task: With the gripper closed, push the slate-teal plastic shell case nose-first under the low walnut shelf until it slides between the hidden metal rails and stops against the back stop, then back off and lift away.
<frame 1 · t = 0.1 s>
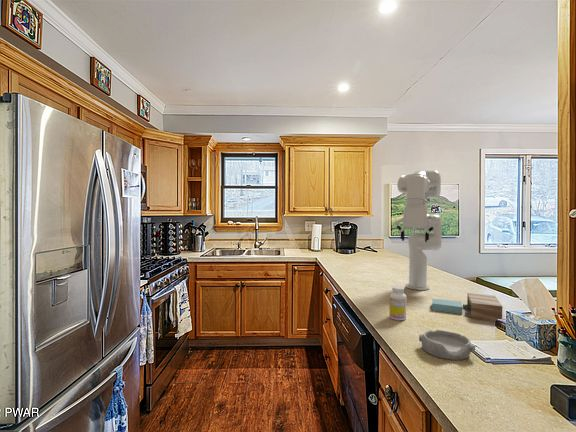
hand: (414, 241, 146), 31 cm above the countertop, tool pointing down, fingers open, 9 cm apart
supplement bottle: (397, 318, 135), on the countertop
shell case: (446, 309, 148), on the countertop
dish: (444, 352, 104), on the countertop
shelf dock: (481, 313, 142), on the countertop
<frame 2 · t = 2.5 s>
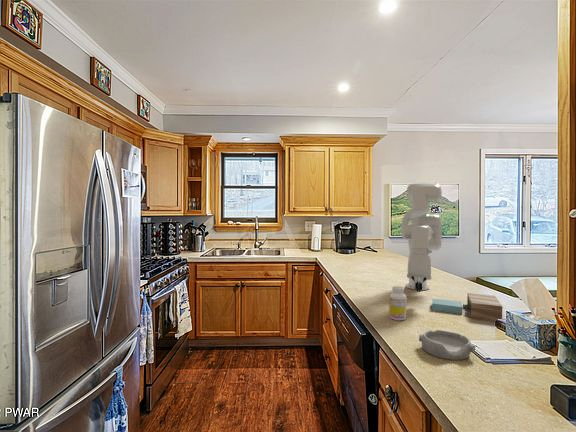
hand: (418, 290, 152), 7 cm above the countertop, tool pointing down, fingers closed
nothing on the countertop moved.
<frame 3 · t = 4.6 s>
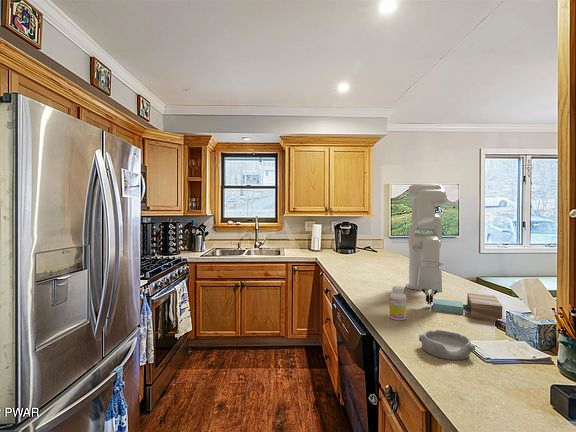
hand: (429, 303, 151), 2 cm above the countertop, tool pointing down, fingers closed
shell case: (447, 309, 148), on the countertop, touching gripper
everything else where it was.
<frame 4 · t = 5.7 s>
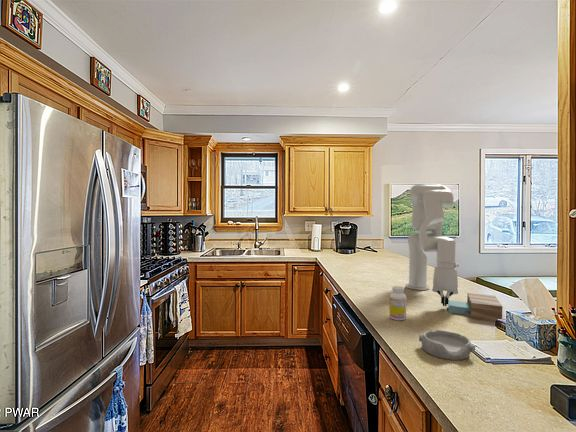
hand: (444, 305, 148), 2 cm above the countertop, tool pointing down, fingers closed
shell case: (463, 311, 145), on the countertop, touching gripper
everything else where it was.
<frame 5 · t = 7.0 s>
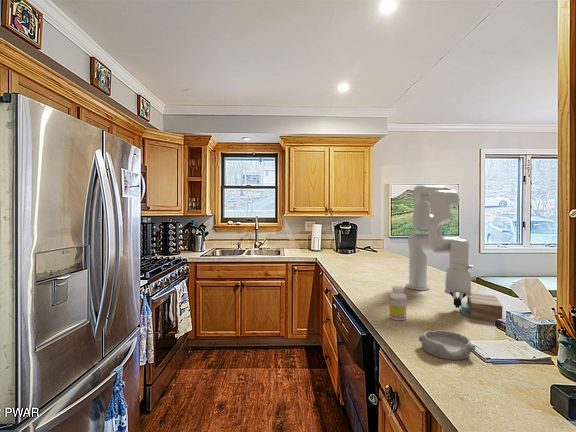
hand: (457, 307, 146), 2 cm above the countertop, tool pointing down, fingers closed
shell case: (476, 313, 143), on the countertop, touching gripper, shelf dock
everything else where it was.
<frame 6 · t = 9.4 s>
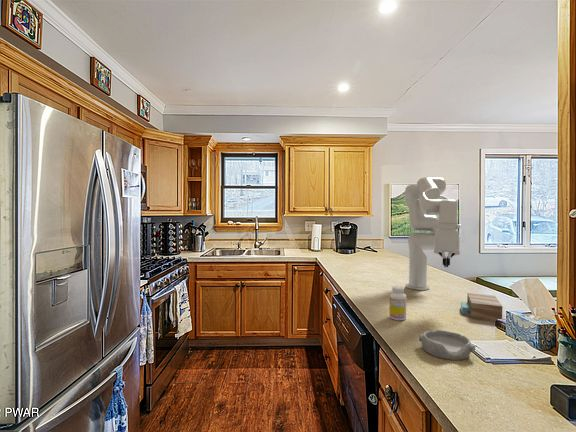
hand: (446, 266, 149), 19 cm above the countertop, tool pointing down, fingers closed
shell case: (476, 313, 143), on the countertop
everything else where it was.
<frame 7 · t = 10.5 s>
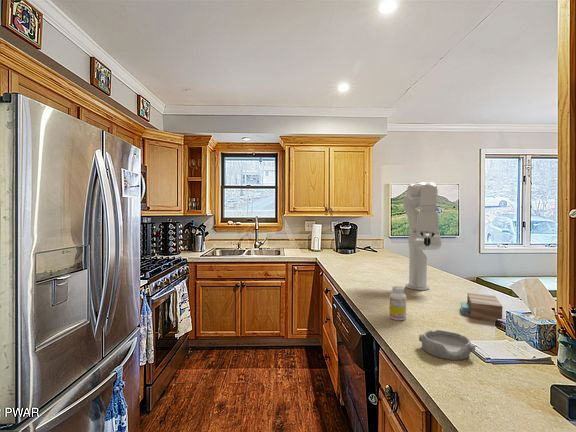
hand: (427, 246, 162), 27 cm above the countertop, tool pointing down, fingers closed
nothing on the countertop moved.
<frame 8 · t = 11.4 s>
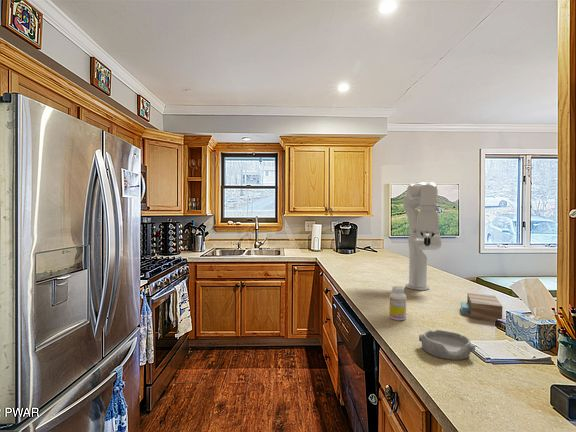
hand: (427, 246, 162), 27 cm above the countertop, tool pointing down, fingers closed
nothing on the countertop moved.
at the end: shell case 0.2 cm from the target spot, on the countertop; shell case tilted 0°; the gripper is holding nothing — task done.
